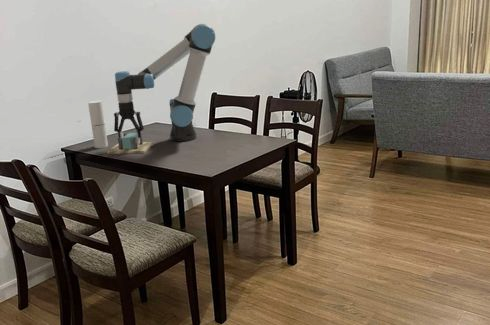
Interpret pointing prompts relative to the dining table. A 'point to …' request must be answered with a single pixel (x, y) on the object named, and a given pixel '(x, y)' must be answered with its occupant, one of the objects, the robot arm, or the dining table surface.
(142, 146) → the wooden peg board
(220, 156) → the dining table surface
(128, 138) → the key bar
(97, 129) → the cylindrical container
